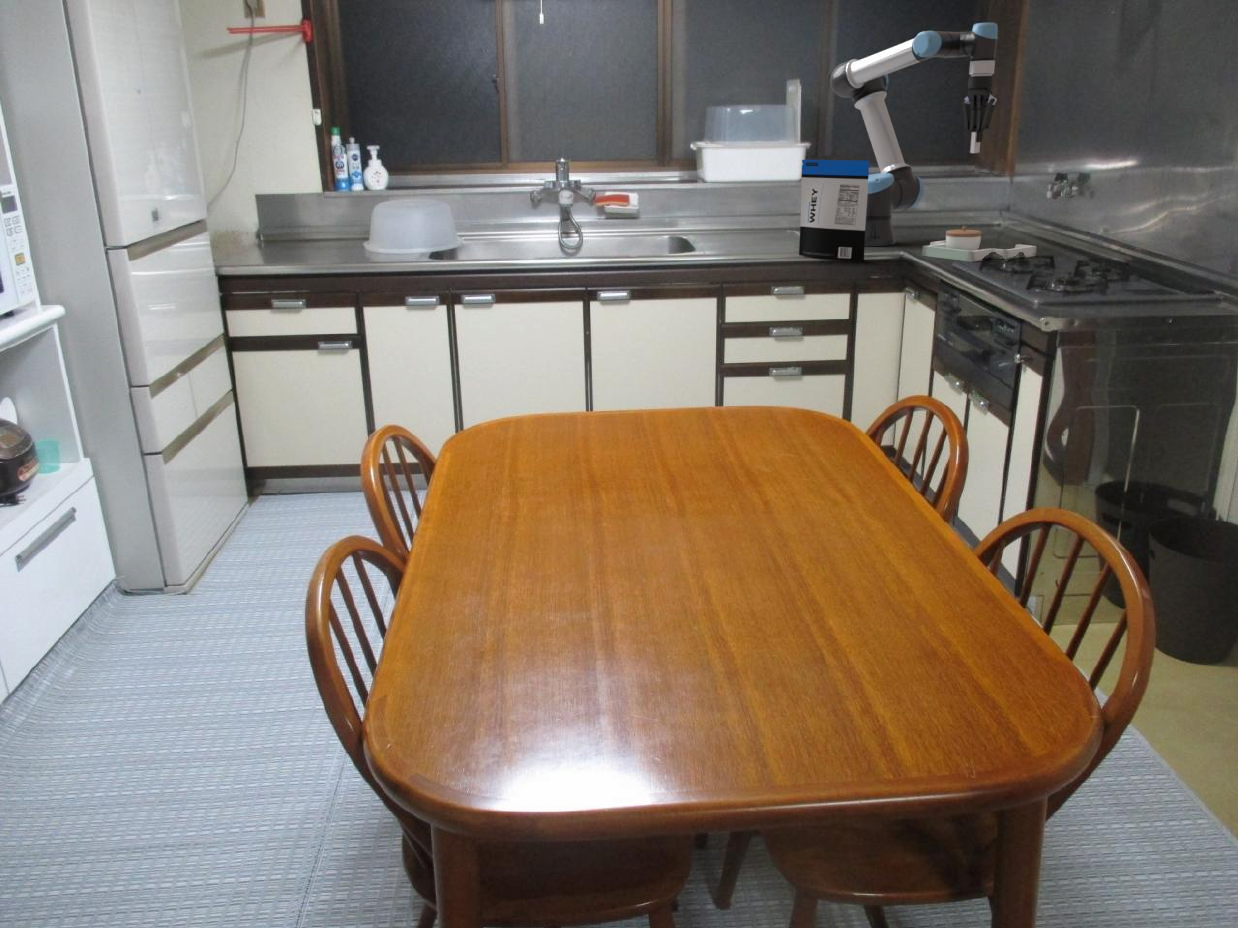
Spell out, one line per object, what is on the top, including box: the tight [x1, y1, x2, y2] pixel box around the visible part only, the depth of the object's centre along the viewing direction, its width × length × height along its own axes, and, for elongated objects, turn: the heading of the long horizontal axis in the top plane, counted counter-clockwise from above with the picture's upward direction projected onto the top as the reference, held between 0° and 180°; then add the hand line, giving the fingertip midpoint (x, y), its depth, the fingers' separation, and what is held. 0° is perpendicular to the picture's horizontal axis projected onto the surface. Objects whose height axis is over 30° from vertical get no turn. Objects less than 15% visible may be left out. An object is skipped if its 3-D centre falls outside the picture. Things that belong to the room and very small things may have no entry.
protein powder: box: [798, 159, 870, 262], centre depth 322 cm, size 10×24×30 cm, turn 46°
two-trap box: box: [921, 239, 1037, 263], centre depth 325 cm, size 29×24×3 cm
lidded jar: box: [945, 225, 983, 251], centre depth 321 cm, size 11×11×9 cm
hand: (974, 153), depth 333 cm, fingers closed
